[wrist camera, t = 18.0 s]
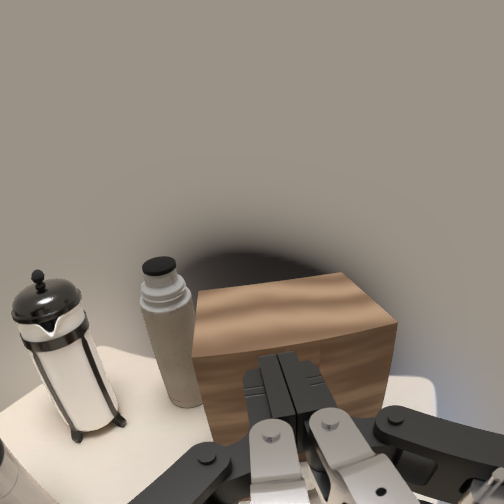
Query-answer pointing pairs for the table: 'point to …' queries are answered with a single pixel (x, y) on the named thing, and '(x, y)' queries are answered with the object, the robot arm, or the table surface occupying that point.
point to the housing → (290, 344)
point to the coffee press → (65, 353)
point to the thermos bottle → (171, 328)
